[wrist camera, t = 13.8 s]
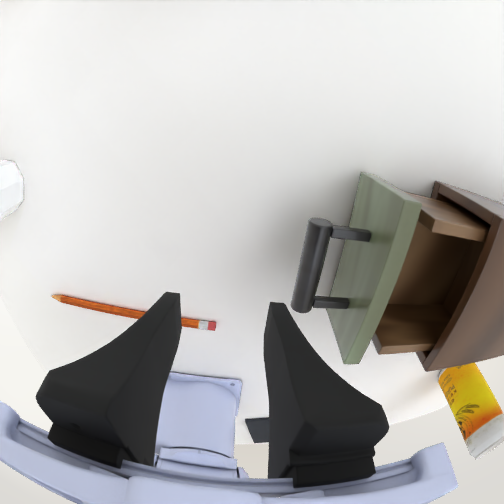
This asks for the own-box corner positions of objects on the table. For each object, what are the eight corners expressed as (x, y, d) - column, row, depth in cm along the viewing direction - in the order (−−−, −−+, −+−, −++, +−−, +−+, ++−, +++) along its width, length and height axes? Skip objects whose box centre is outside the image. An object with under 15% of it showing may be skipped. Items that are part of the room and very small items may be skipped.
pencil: (215, 326, 25) (215, 332, 24) (52, 296, 24) (49, 300, 23) (216, 320, 25) (215, 326, 24) (50, 290, 24) (47, 294, 23)
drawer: (279, 305, 23) (287, 364, 17) (305, 161, 17) (330, 185, 12) (437, 309, 23) (466, 352, 18) (479, 202, 18) (526, 233, 13)
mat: (254, 441, 37) (254, 443, 36) (245, 419, 33) (245, 421, 33) (331, 431, 36) (331, 433, 35) (334, 408, 32) (335, 410, 32)
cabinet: (391, 309, 24) (425, 372, 17) (434, 180, 18) (502, 218, 11) (476, 308, 25) (511, 353, 18) (517, 210, 19) (567, 244, 12)
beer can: (434, 369, 30) (474, 457, 16) (469, 345, 28) (516, 427, 15) (437, 385, 32) (471, 463, 19) (469, 364, 30) (508, 438, 17)
